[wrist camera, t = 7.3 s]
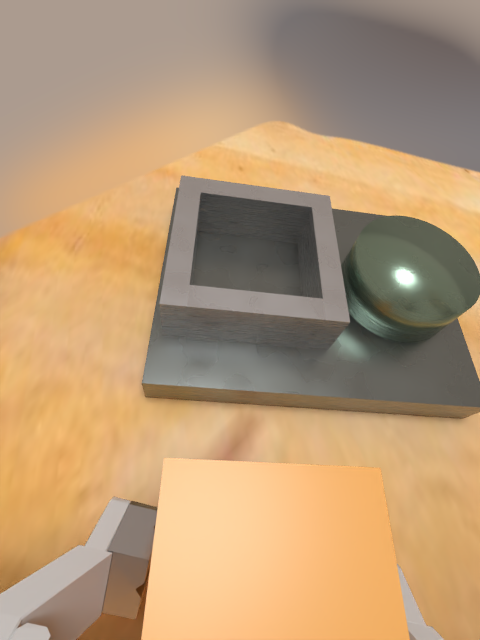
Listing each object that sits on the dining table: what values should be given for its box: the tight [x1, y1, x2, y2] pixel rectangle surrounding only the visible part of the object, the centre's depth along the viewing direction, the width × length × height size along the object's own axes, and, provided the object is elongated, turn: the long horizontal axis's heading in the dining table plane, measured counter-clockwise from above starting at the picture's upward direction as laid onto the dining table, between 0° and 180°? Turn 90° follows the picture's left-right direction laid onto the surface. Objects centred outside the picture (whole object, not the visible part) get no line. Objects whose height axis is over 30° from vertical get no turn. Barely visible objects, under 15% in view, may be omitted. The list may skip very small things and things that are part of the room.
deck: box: [142, 176, 480, 418], centre depth 21 cm, size 18×14×5 cm
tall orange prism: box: [141, 458, 410, 640], centre depth 10 cm, size 4×4×10 cm
